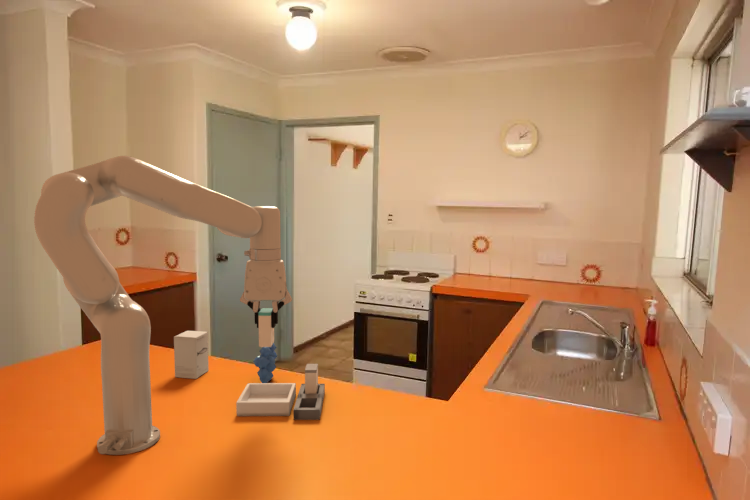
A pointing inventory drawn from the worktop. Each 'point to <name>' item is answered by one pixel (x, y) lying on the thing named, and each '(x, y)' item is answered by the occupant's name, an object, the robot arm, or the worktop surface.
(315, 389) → the block
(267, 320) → the block
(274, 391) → the tray
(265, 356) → the grapes
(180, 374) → the supplement box
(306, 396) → the frame
